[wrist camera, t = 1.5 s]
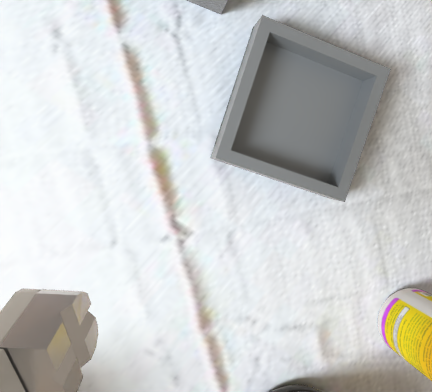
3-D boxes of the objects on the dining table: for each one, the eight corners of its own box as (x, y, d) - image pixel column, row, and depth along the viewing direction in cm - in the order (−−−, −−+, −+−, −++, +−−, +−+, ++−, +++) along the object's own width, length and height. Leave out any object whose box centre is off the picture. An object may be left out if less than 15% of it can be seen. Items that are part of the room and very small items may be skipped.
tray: (210, 157, 34) (215, 157, 31) (253, 27, 34) (262, 15, 31) (329, 198, 36) (344, 201, 33) (371, 76, 36) (390, 68, 33)
